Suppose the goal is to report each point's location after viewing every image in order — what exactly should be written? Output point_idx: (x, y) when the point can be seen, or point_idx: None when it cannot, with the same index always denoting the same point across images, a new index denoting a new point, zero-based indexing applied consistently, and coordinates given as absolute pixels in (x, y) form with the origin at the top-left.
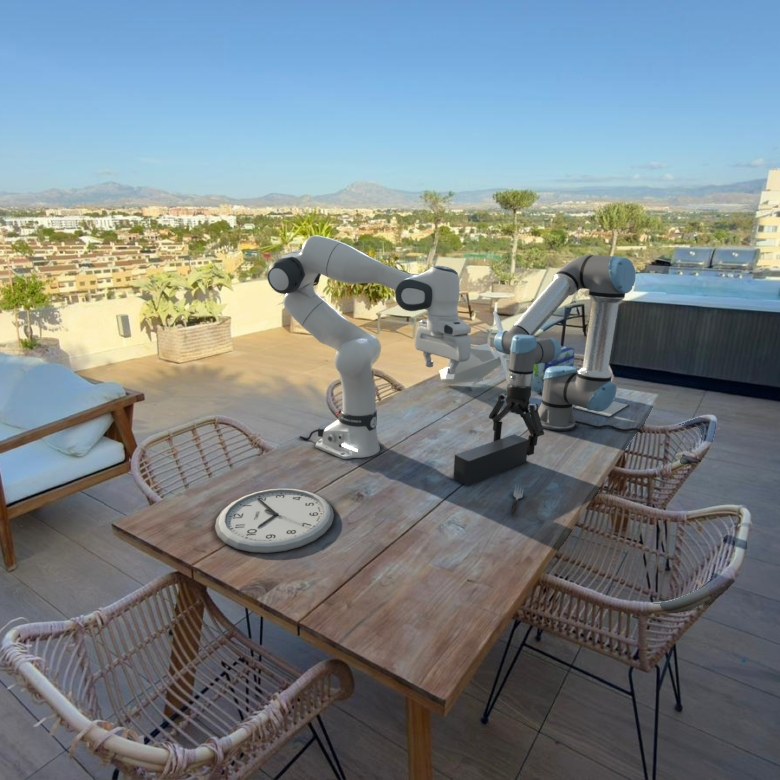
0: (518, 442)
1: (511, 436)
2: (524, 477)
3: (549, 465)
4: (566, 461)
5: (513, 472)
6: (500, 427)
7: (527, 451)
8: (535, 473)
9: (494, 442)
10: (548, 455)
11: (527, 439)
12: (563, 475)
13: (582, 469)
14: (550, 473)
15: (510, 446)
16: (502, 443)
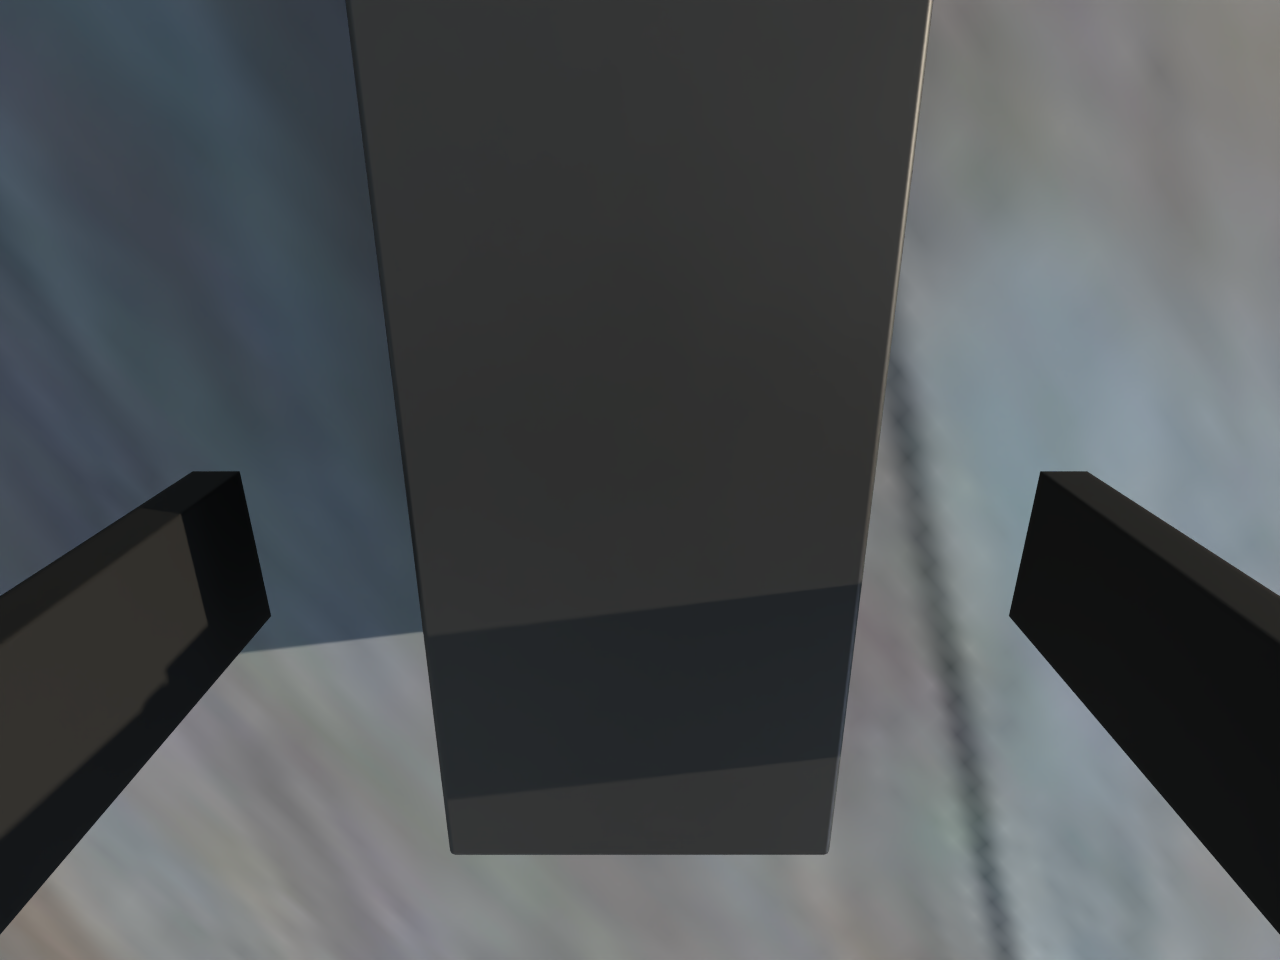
0: (448, 592)
1: (793, 729)
2: (177, 191)
3: (310, 724)
4: (299, 914)
5: None
6: (1211, 797)
7: (177, 502)
8: (212, 425)
9: (849, 38)
10: (507, 895)
11: (466, 847)
12: None
13: (75, 889)
14: None
15: (375, 232)
16: (641, 193)
